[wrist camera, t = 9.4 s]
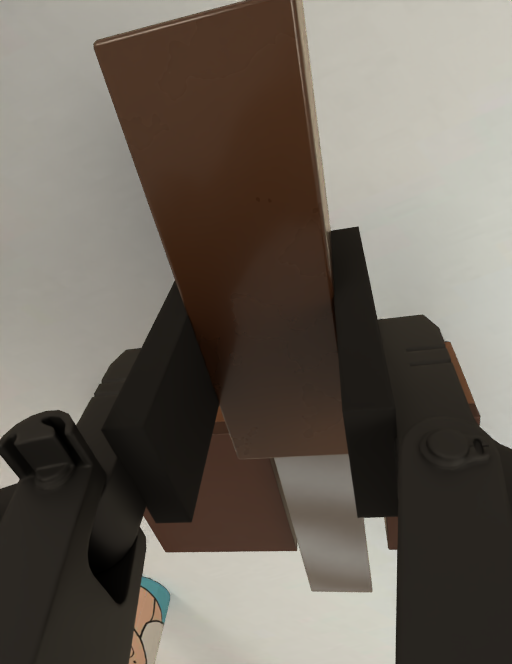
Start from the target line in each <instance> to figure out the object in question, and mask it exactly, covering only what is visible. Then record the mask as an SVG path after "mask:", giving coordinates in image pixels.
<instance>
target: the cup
mask: <svg viewBox="0 0 512 664" xmlns="http://www.w3.org/2000/svg"><path fill="white" fill-rule="evenodd" d="M169 601H170V594H169V592H168V591H167V589H166V588H164V587H163V586H162V585H160V584H159V583H157V582H155V581H153V580H151V579H148V578H145V577H142V580H141V586H140V593H139V600H138V606H137V613H136V620H135V626H134V633H133V639H132V646H131V653H130V659H129V664H155V660H156V656H157V652H158V648H159V643H160V639H161V635H162V631H163V627H164V622H165V618H166V614H167V610H168V606H169Z"/></svg>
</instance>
